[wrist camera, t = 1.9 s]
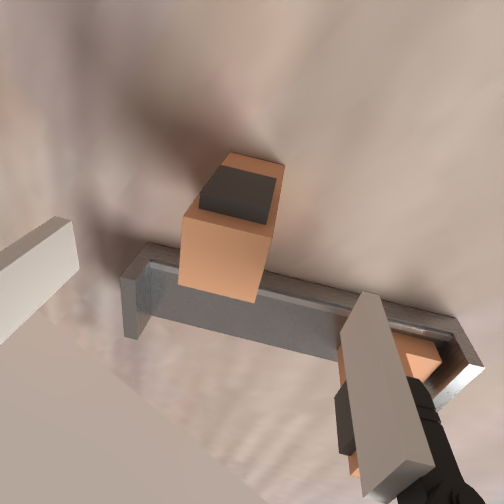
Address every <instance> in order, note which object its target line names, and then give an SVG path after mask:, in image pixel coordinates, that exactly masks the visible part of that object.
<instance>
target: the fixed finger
mask: <svg viewBox="0 0 504 504" xmlns="http://www.w3.org/2000/svg"><path fill="white" fill-rule="evenodd" d="M392 335H393V338H394V342H395V345H396V348H397V351H398V354H399V357H400V360H401V363H402V366H403V369H404V372H405V375H406V376H409V377H413V378H417V379H420V381H421V382H422V383H423V382H424V381H425V380H426V379H427V378H428V377H429V376H430V375H431V374H432V373H433V372H434V370H435V369H436V368H437V367H438V366H439V365H440V364H441V363H442V360H441V358H440V356H439V353H438V351H437V349H436V346H435V344H434V342H431V341H427V340H423V339H419V338H415V337H411V336H407V335H403V334H399V333H395V332H392ZM337 356H338V365H339V375H340V384H341V388H340V390H339V391H338V393H337V394H336V396H335V397H334V399H335V411H336V423H337V434H338V446H339V453H340V454H344V455H348V460H349V469H350V476H353V477H357V478H360V472H359V465H358V458H357V451H356V444H355V437H354V430H353V422H352V415H351V408H350V401H349V394H348V387H347V380H346V373H345V366H344V358H343V351H342V344H341V345H340V346H339V348H338V350H337Z"/></svg>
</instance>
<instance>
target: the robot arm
mask: <svg viewBox="0 0 504 504" xmlns="http://www.w3.org/2000/svg"><path fill="white" fill-rule="evenodd" d="M78 270H79V262H78V256H77V250H76V244H75V237H74V231H73V225H72V220H68V219H64V218H60V217H56V216H55V217H53V218H51V219H50V220H48V221H47V222H45V223H44V224H42V225H41V226H39V227H38V228H36V229H34V230H33V231H31V232H30V233H28V234H27V235H25V236H24V237H22V238H21V239H19V240H18V241H16V242H14V243H13V244H11V245H10V246H8V247H7V248H5V249H4V250H2V251H1V252H0V345H1V344H2V343H3V342H4V341H5V340H6V339H7V338H8V337H9V336H10V335H11V334H12V333H13V332H14V331H15V330H17V329H18V328H19V327H20V326H21V325H22V323H24V322H25V321H26V320H27V319H28V318H29V317H30V316H31V315H32V314H33V313H34V312H35V311H36V310H37V309H38V308H39V307H40V306H42V305H43V304H44V303H45V302H46V301H47V300H48V299H49V298H50V297H51V296H52V295H53V294H54V293H55V292H56V291H57V290H58V289H59V288H60V287H61V286H62V285H63V284H64V283H66V282H67V281H68V280H69V279H70V278H71V277H72V276H73V275H74V274H75V273H76V272H77V271H78ZM340 337H341V344H342V351H343V358H344V366H345V373H346V380H347V387H348V394H349V401H350V408H351V415H352V422H353V430H354V437H355V444H356V451H357V458H358V465H359V472H360V479H361V487H362V494H363V498H365V499H369V500H373V501H377V502H381V503H385V504H388V503H390V502H391V501H392V500H393V499H395V498H396V497H397V501H398V504H485V502H484V500H483V499H482V498H481V497H480V495H479V494H478V493H477V492H476V491H475V490H474V489H473V488H472V487H471V486H469V485H468V484H466V483H465V482H464V480H463V478H462V475H461V473H460V471H459V468H458V465H457V463H456V460H455V458H454V455H453V452H452V450H451V447H450V444H449V442H448V439H447V437H446V434H445V431H444V429H443V426H442V425H441V421H440V418H439V416H438V413H437V412H436V408H435V405H434V403H433V400H432V397H431V395H430V393H429V392H428V390H427V389H426V387H425V386H424V385H423V383H422V382H421V381H420V379H417V378H413V377H409V376H406V375H405V372H404V369H403V366H402V363H401V360H400V357H399V354H398V351H397V348H396V345H395V342H394V338H393V335H392V332H391V329H390V326H389V323H388V320H387V317H386V314H385V311H384V308H383V305H382V302H381V299H380V296H379V295H376V294H372V293H368V292H364V291H362V293H361V295H360V296H359V298H358V300H357V302H356V304H355V306H354V307H353V309H352V311H351V313H350V315H349V317H348V319H347V320H346V322H345V324H344V326H343V328H342V330H341V332H340Z"/></svg>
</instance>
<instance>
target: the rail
mask: <svg viewBox="0 0 504 504" xmlns="http://www.w3.org/2000/svg"><path fill="white" fill-rule="evenodd" d="M179 263H180V250H178V249H174V248H170V247H166V246H162V245H158V244H154V243H150V242H148V243H147V244H146V245H145V247H144V248H143V249H142V250H141V252H140V253H139V254H138V255H137V256H136V258H135V259H134V260H133V261H132V263H131V264H130V265H129V266H128V267H127V269H126V270H125V271H124V272H123V274H122V275H121V276H120V287H121V300H122V314H123V327H124V337H127V338H131V339H135V340H138V338H139V336H140V335H141V333H142V331H143V329H144V328H145V326H146V324H147V323H148V321H149V319H150V317H151V316H156V317H160V318H164V319H168V320H172V321H176V322H180V323H184V324H188V325H192V326H196V327H200V328H204V329H208V330H212V331H216V332H220V333H224V334H228V335H232V336H236V337H240V338H244V339H248V340H252V341H256V342H260V343H264V344H268V345H272V346H276V347H280V348H284V349H288V350H292V351H296V352H300V353H304V354H308V355H312V356H316V357H320V358H324V359H328V360H332V361H335V362H338V356H337V350H338V348H339V346H340V345H341V337H340V332H341V330H342V328H343V326H344V324H345V322H346V320H347V319H348V317H349V315H350V313H351V311H352V309H353V307H354V306H355V304H356V302H357V300H358V298H359V296H360V295H359V294H355V293H351V292H347V291H343V290H339V289H335V288H331V287H327V286H323V285H319V284H315V283H311V282H307V281H303V280H299V279H295V278H291V277H287V276H283V275H279V274H275V273H271V272H267V271H263V274H262V278H261V281H260V285H259V288H258V292H257V295H256V299H255V303H250V302H246V301H242V300H238V299H234V298H230V297H226V296H222V295H218V294H214V293H210V292H206V291H202V290H198V289H194V288H190V287H186V286H182V285H178V277H179ZM381 302H382V305H383V308H384V311H385V314H386V317H387V320H388V323H389V326H390V329H391V332H395V333H399V334H403V335H407V336H411V337H415V338H419V339H423V340H427V341H431V342H434V344H435V346H436V349H437V351H438V353H439V356H440V358H441V360H442V363H441V364H440V365H439V366H438V367H437V368H436V369H435V370H434V372H433V373H432V374H431V375H430V376H429V377H428V378H427V379H426V380H425V381H424V382H423V385H424V386H425V387H426V389H427V390H428V392H429V393H430V395H431V397H432V400H433V403H434V405H435V408H436V412H438V411H439V410H440V409H441V408H442V407H443V406H444V405H445V404H447V403H448V402H449V401H450V400H451V399H452V398H453V397H454V396H455V395H456V394H457V393H458V392H460V391H461V390H462V389H463V388H464V387H465V386H466V385H467V384H468V383H469V382H470V381H471V380H473V379H474V378H475V377H476V376H477V375H478V374H479V373H480V372H481V371H482V370H483V369H485V367H484V366H483V364H482V362H481V360H480V358H479V357H478V355H477V353H476V351H475V350H474V348H473V346H472V344H471V343H470V341H469V339H468V337H467V335H466V334H465V332H464V330H463V328H462V327H461V325H460V323H459V321H458V320H457V319H456V318H452V317H448V316H444V315H440V314H436V313H432V312H428V311H424V310H420V309H416V308H412V307H408V306H404V305H400V304H396V303H392V302H388V301H384V300H381Z"/></svg>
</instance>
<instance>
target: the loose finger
mask: <svg viewBox="0 0 504 504" xmlns="http://www.w3.org/2000/svg"><path fill="white" fill-rule="evenodd" d="M284 169H285V165H280V164H276V163H272V162H268V161H264V160H260V159H256V158H252V157H248V156H244V155H240V154H235V153H231V152H230V153H229V154H228V156H227V157H226V158H225V160H224V161H223V162H222V164H221V165H220V166H219V168H218V169H217V170H216V172H215V173H214V174H213V176H212V177H211V179H210V180H209V181H208V183H207V184H206V185H205V187H204V188H203V189H202V191H201V192H200V194H199V195H198V196H197V198H196V199H195V200H194V202H193V203H192V204H191V206H190V207H189V209H188V210H187V211H186V213H185V214H184V215H183V221H182V235H181V249H180V263H179V277H178V285H182V286H186V287H190V288H194V289H198V290H202V291H206V292H210V293H214V294H218V295H222V296H226V297H230V298H234V299H238V300H242V301H246V302H250V303H255V299H256V295H257V292H258V288H259V285H260V281H261V278H262V274H263V270H264V267H265V263H266V260H267V256H268V252H269V249H270V245H271V242H272V238H273V232H274V227H275V221H276V215H277V209H278V204H279V198H280V192H281V186H282V181H283V175H284Z"/></svg>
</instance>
